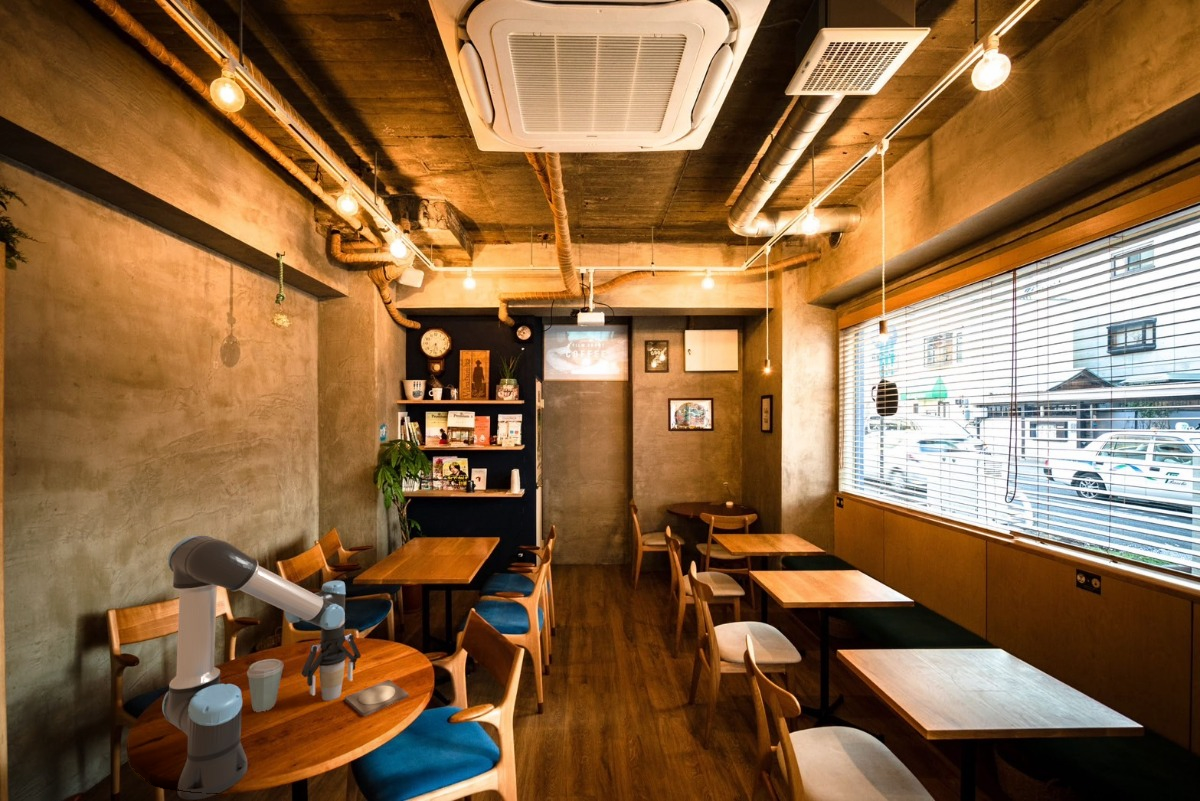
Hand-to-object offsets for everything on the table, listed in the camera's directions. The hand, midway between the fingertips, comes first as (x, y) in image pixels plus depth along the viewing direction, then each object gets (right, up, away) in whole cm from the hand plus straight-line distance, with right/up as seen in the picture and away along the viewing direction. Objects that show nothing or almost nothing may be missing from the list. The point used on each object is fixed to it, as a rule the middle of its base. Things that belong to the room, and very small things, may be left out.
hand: (331, 686), depth 179 cm
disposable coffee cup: (-19, -3, -7) cm, 21 cm away
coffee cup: (0, -4, 0) cm, 4 cm away
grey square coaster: (+17, -3, -2) cm, 18 cm away
